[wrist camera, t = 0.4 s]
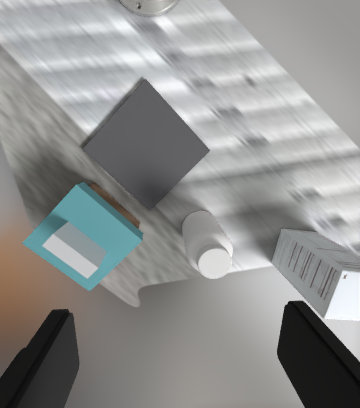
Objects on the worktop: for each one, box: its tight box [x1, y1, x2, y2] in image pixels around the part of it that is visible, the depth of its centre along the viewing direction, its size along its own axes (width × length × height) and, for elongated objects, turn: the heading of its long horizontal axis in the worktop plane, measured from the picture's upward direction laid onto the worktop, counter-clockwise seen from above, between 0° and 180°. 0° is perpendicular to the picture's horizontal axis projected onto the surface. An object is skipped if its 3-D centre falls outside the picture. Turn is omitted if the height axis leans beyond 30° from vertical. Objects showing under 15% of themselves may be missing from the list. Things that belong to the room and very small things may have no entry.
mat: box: [83, 79, 210, 210], centre depth 40 cm, size 17×17×1 cm
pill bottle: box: [182, 211, 233, 279], centre depth 39 cm, size 8×8×15 cm
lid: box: [23, 182, 143, 291], centre depth 34 cm, size 14×14×8 cm
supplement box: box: [271, 228, 360, 321], centre depth 41 cm, size 10×9×17 cm
